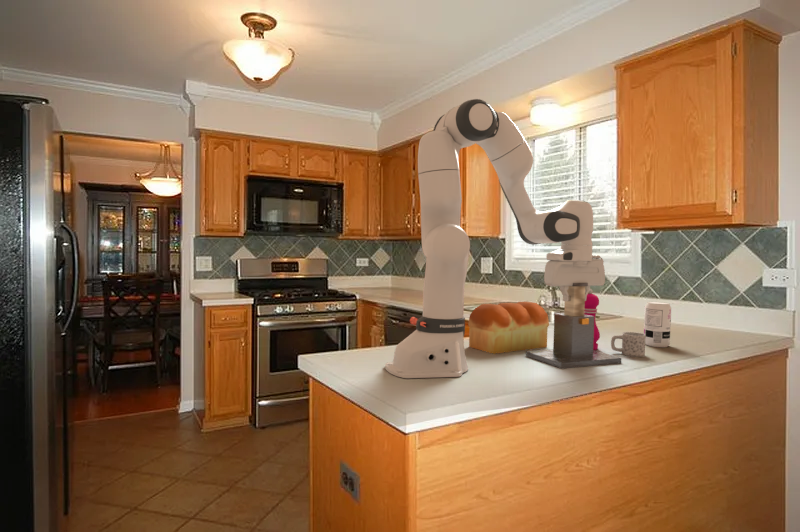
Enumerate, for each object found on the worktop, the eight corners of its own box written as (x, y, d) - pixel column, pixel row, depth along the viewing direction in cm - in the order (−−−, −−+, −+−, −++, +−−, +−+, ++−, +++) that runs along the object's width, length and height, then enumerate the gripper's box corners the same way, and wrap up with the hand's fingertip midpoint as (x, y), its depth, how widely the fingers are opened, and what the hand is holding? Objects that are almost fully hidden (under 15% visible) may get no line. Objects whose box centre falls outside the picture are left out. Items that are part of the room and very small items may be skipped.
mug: (642, 353, 160) (643, 332, 160) (646, 357, 153) (647, 336, 153) (609, 350, 162) (609, 330, 162) (612, 355, 156) (613, 334, 156)
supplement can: (639, 342, 178) (641, 301, 177) (662, 343, 178) (664, 301, 177) (649, 347, 170) (651, 303, 169) (674, 347, 169) (676, 304, 169)
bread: (521, 341, 177) (522, 300, 177) (548, 347, 167) (549, 303, 166) (467, 347, 164) (468, 303, 164) (493, 354, 154) (494, 307, 153)
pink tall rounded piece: (601, 351, 162) (603, 290, 161) (578, 349, 163) (580, 289, 162) (597, 346, 169) (599, 288, 168) (574, 345, 170) (577, 287, 169)
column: (572, 354, 145) (574, 282, 144) (560, 350, 150) (562, 281, 149) (585, 353, 147) (587, 282, 146) (573, 349, 152) (576, 281, 151)
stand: (561, 368, 137) (562, 320, 136) (525, 356, 152) (527, 312, 151) (621, 362, 145) (623, 317, 145) (582, 351, 160) (583, 310, 159)
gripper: (595, 255, 154) (593, 299, 154) (541, 254, 146) (540, 300, 147) (611, 255, 148) (609, 301, 149) (556, 254, 140) (554, 303, 141)
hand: (574, 301), depth 148 cm, fingers open, 4 cm apart
